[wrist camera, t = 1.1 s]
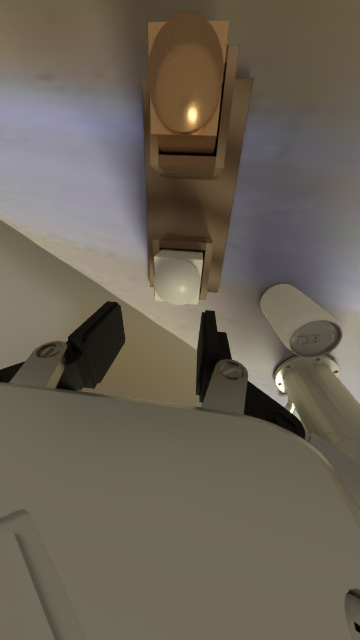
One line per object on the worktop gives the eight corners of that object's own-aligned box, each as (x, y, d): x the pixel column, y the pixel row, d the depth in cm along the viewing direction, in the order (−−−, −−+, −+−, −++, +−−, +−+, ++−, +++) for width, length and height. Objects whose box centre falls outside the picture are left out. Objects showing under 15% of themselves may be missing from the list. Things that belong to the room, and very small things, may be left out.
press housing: (217, 289, 32) (221, 310, 25) (151, 284, 33) (138, 303, 26) (250, 85, 20) (278, 12, 13) (144, 84, 20) (114, 15, 13)
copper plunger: (212, 160, 19) (217, 132, 13) (166, 159, 20) (148, 131, 13) (219, 90, 17) (230, 10, 10) (166, 90, 17) (145, 12, 10)
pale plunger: (198, 284, 26) (197, 307, 20) (165, 281, 27) (154, 303, 20) (202, 248, 24) (203, 261, 17) (165, 246, 24) (152, 257, 18)
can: (297, 312, 32) (342, 356, 22) (260, 318, 34) (285, 363, 24) (298, 278, 29) (351, 312, 19) (257, 287, 31) (286, 323, 21)
